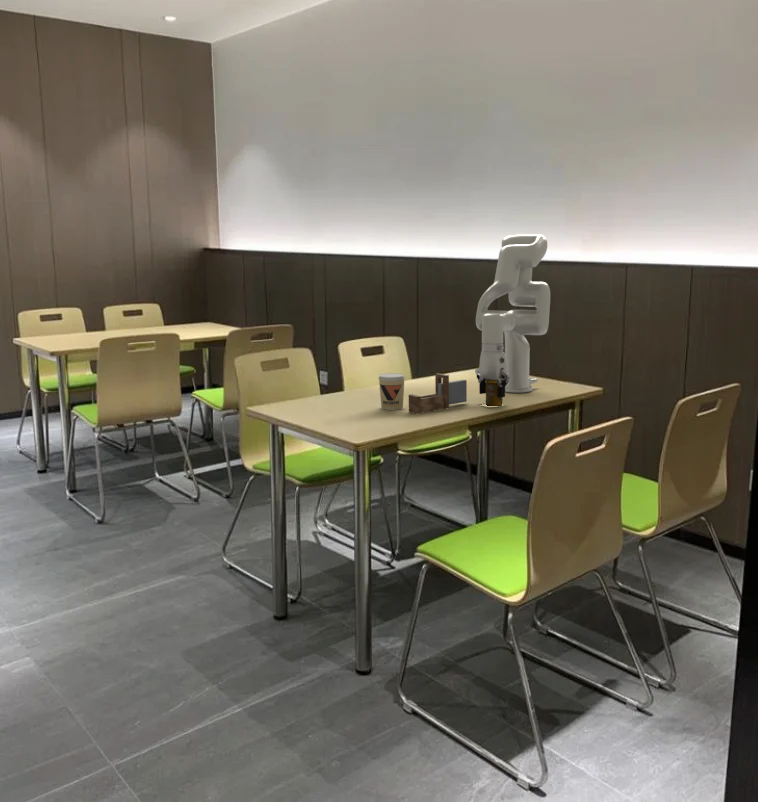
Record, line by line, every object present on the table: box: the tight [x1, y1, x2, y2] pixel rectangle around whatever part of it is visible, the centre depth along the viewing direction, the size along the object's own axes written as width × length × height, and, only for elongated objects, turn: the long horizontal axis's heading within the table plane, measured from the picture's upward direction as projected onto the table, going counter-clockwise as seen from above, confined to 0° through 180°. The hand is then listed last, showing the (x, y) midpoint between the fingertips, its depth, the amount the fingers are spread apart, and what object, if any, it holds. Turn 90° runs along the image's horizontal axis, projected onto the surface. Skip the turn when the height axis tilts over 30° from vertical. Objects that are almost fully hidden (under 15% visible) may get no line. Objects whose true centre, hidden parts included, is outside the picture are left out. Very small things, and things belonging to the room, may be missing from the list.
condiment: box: [477, 379, 504, 409], centre depth 283 cm, size 7×8×12 cm
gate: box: [438, 379, 468, 406], centre depth 285 cm, size 12×2×8 cm, turn 125°
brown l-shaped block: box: [408, 372, 450, 414], centre depth 278 cm, size 14×6×12 cm, turn 125°
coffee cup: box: [378, 372, 406, 411], centre depth 283 cm, size 9×9×12 cm
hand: (492, 395), depth 284 cm, fingers open, 9 cm apart
